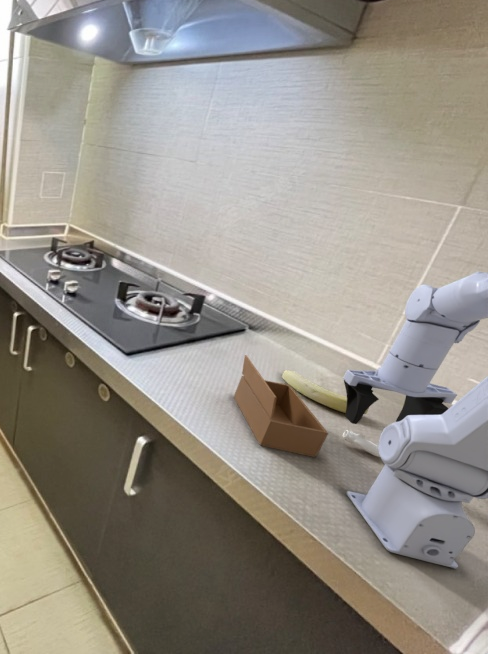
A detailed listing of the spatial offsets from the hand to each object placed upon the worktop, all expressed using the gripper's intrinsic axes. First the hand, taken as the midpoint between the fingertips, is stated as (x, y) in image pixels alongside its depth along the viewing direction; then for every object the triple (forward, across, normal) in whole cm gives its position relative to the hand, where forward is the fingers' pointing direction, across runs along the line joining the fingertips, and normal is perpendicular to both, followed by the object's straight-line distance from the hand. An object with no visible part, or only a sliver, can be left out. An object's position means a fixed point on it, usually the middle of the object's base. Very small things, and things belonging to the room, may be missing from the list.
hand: (375, 425), depth 68 cm
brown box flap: (-2, +19, -2) cm, 19 cm away
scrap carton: (+6, +14, -2) cm, 15 cm away
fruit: (+6, -1, -16) cm, 17 cm away
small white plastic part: (+6, 0, 0) cm, 6 cm away
